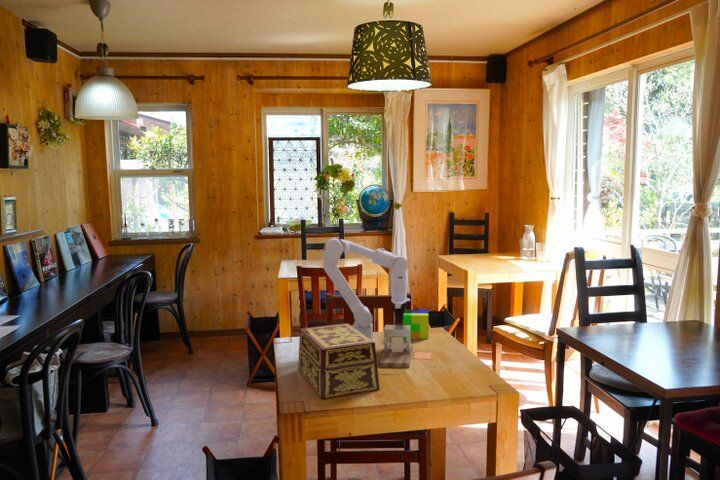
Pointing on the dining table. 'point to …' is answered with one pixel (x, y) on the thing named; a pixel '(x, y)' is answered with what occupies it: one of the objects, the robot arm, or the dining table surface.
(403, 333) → the sliding cover
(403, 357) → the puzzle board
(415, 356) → the terracotta tile
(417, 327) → the puzzle toy
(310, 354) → the decorative box
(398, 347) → the cream block
